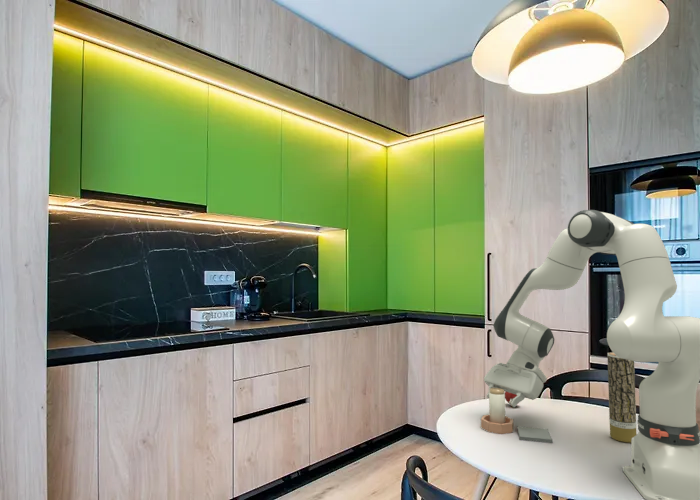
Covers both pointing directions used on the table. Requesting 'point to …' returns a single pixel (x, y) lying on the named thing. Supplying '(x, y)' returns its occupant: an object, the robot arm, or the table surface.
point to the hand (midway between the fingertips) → (499, 401)
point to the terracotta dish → (497, 425)
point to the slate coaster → (534, 434)
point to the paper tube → (621, 398)
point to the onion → (509, 396)
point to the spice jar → (497, 405)
